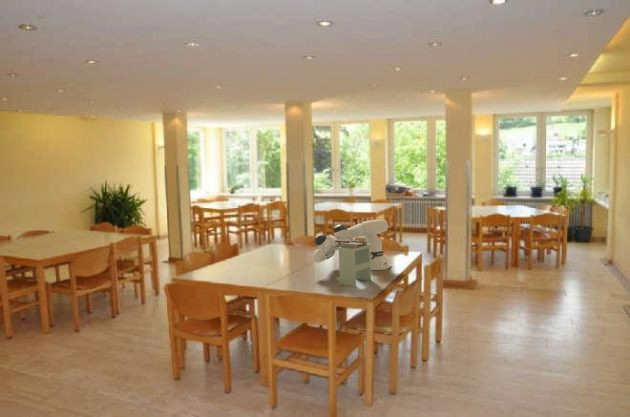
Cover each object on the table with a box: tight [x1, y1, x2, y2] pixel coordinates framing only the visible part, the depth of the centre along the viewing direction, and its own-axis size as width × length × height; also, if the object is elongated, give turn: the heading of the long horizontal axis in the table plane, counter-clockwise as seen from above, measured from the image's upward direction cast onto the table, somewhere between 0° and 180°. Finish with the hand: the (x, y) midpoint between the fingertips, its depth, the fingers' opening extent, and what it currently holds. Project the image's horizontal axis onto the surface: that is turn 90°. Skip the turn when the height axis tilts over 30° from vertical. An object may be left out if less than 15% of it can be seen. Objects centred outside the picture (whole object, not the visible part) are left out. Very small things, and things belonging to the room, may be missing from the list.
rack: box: [338, 237, 372, 287], centre depth 361 cm, size 20×13×31 cm, turn 139°
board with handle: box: [335, 240, 364, 247], centre depth 362 cm, size 10×20×3 cm, turn 49°
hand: (341, 242), depth 365 cm, fingers open, 8 cm apart
